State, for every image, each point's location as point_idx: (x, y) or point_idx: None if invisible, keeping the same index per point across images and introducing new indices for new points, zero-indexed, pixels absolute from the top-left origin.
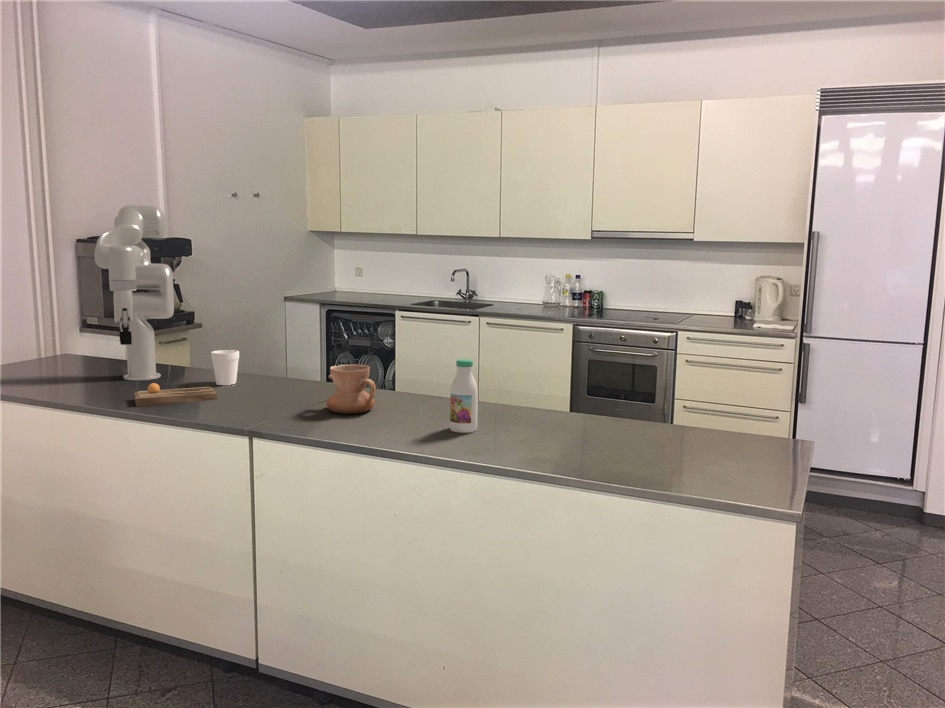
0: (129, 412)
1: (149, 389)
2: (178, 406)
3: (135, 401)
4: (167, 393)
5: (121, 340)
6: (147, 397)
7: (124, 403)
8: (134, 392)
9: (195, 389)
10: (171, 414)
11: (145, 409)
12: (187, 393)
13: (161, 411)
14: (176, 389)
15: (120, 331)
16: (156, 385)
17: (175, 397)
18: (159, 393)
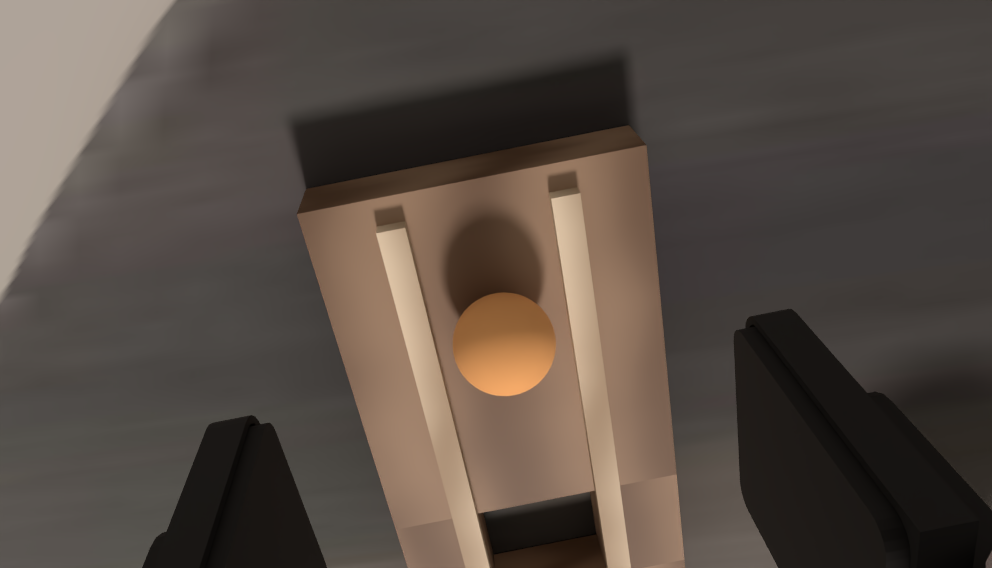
0: (75, 171)
1: (461, 319)
2: (289, 461)
3: (478, 158)
4: (428, 428)
5: (194, 503)
6: (355, 292)
7: (476, 64)
8: (636, 146)
9: (606, 560)
10: (7, 457)
11: (194, 270)
12: (458, 534)
13: (113, 385)
14: (593, 462)
15: (858, 518)
16: (481, 387)
17: (378, 467)
18: (440, 374)
